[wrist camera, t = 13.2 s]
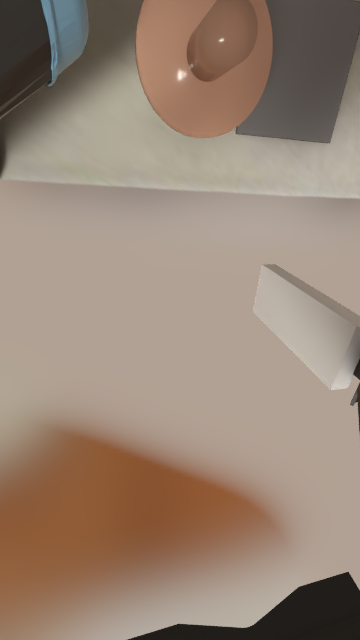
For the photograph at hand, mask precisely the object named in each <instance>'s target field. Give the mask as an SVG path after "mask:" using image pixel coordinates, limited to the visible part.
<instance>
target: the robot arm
mask: <svg viewBox="0 0 360 640" xmlns="http://www.w3.org/2000/svg"><path fill="white" fill-rule="evenodd" d="M88 34H89V19H88V10H87V4H86V0H0V119H1V118H2V117H4V116H5V115H6V114H8V113H9V112H10V111H12V110H13V109H14V108H16V107H17V106H18V105H19V104H21V103H22V102H23V101H25V100H26V99H27V98H29V97H30V96H31V95H33V94H34V93H35V92H36V91H38V90H39V89H40V88H42V87H43V86H44V85H45V86H47V87H49V86H51V85H53V84H54V83H55V81H56V79H57V77H58V75H59V74H60V73H61V72H63V71H64V70H65V69H66V68H67V67H69V66H70V65H71V64H72V63H73V62H74V61H76V60H77V59H78V58H79V57H80V56H81V55H82V53H83V52H84V50H85V47H86V42H87V39H88ZM253 312H254V313H255V314H256V315H257V316H258V317H259V318H260V319H261V320H262V321H263V322H264V323H265V324H266V325H267V326H268V327H269V328H270V329H271V330H272V331H273V332H274V333H275V334H276V335H277V336H278V337H279V338H280V339H281V340H282V341H283V342H284V343H285V344H286V345H287V346H288V347H289V348H290V349H291V351H292V352H294V354H295V355H296V356H297V357H298V358H300V360H301V361H302V362H303V363H304V364H305V365H306V366H307V367H308V368H309V369H310V370H311V371H312V372H313V373H314V374H315V375H316V376H317V377H318V378H319V379H320V380H321V381H322V382H323V383H324V384H325V385H327V387H328V388H329V389H330V390H335V389H342V388H348V386H349V384H350V381H351V379H352V377H353V375H355V376H356V377H357V378H358V379H359V380H360V316H359V315H357V314H356V313H354V312H352V311H351V310H349V309H347V308H346V307H344V306H342V305H341V304H339V303H337V302H336V301H334V300H332V299H331V298H329V297H328V296H326V295H324V294H323V293H321V292H320V291H318V290H316V289H315V288H313V287H311V286H310V285H308V284H306V283H305V282H303V281H302V280H300V279H298V278H297V277H295V276H293V275H292V274H290V273H288V272H287V271H285V270H283V269H282V268H280V267H279V266H277V265H262V268H261V273H260V278H259V283H258V288H257V293H256V298H255V303H254V308H253ZM355 402H358V414H359V430H360V384H359V386H358V388H357V390H356V392H355V394H354V397H353V399H352V401H351V404H350V405H352V406H353V405H354V403H355ZM128 640H360V590H359V589H358V587H357V585H356V584H355V582H354V580H353V579H352V577H351V575H350V574H349V572H346V573H343V574H340V575H336V576H333V577H330V578H326V579H323V580H320V581H317V582H313V583H310V584H307V585H304V586H300V587H298V588H297V589H296V590H295V591H294V592H292V593H291V594H290V595H289V596H288V597H286V598H285V599H284V600H283V601H282V602H280V603H279V604H278V605H277V606H276V607H275V608H274V609H272V610H271V611H270V612H269V613H268V614H266V615H265V616H264V617H262V619H260V620H259V621H258V622H257V623H256V624H254V625H252V626H250V627H247V628H234V627H218V626H204V625H188V624H177V625H174V626H170V627H167V628H164V629H161V630H157V631H154V632H151V633H148V634H144V635H141V636H138V637H134V638H131V639H128Z"/></svg>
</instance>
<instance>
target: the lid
mask: <svg viewBox="0 0 360 640" xmlns="http://www.w3.org/2000/svg"><path fill="white" fill-rule="evenodd" d="M135 52H136V63H137V69H138V74H139V78H140V82H141V85H142V87H143V90H144V93H145V95H146V97H147V99H148V101H149V103H150V104H151V106H152V107H153V109H154V111H155V112H156V113H157V114H158V116H159V117H160V118H161V119H162V120H163V121H164V122H165V123H166V124H167V125H168V126H170V127H171V128H173V129H174V130H175V131H177V132H179V133H181V134H183V135H186V136H189V137H195V138H209V137H215V136H219V135H222V134H225V133H227V132H229V131H231V130H233V129H234V128H236V127H237V126H239V125H240V124H241V123H242V122H243V121H244V120H245V119H246V118H247V117H248V116H249V115H250V114H251V112H252V111H253V109H254V108H255V107H256V105H257V103H258V102H259V100H260V98H261V96H262V94H263V91H264V89H265V86H266V83H267V80H268V77H269V73H270V68H271V62H272V53H273V37H272V26H271V20H270V15H269V11H268V8H267V4H266V2H265V0H144V1H143V4H142V7H141V11H140V15H139V18H138V22H137V29H136V40H135Z"/></svg>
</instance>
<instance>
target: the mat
mask: <svg viewBox="0 0 360 640" xmlns="http://www.w3.org/2000/svg"><path fill="white" fill-rule="evenodd" d="M265 2H266V4H267V8H268V11H269V15H270V20H271V26H272V37H273V53H272V62H271V68H270V73H269V77H268V80H267V83H266V86H265V89H264V91H263V94H262V96H261V98H260V100H259V102H258V103H257V105H256V107H255V108H254V109H253V111H252V112H251V114H250V115H249V116H248V117H247V118H246V119H245V120H244V121H243V122H242V123H241V124H240V125H239V126H237V129H236V134H243V135H253V136H262V137H272V138H282V139H292V140H301V141H311V142H321V143H330V141H331V137H332V133H333V130H334V126H335V122H336V118H337V114H338V111H339V107H340V103H341V99H342V95H343V92H344V88H345V84H346V80H347V77H348V73H349V69H350V65H351V61H352V58H353V54H354V50H355V46H356V42H357V39H358V35H359V31H360V2H358V1H354V0H265Z"/></svg>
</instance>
